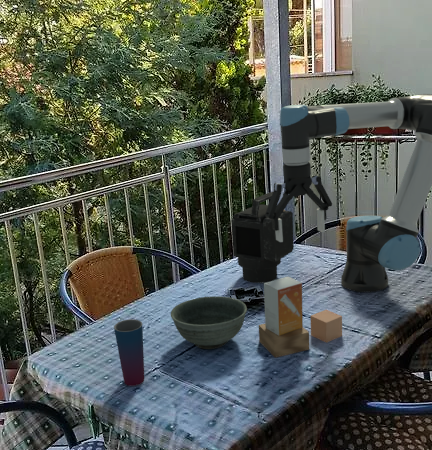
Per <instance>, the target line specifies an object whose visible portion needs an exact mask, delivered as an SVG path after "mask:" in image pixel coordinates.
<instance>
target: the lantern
mask: <svg viewBox="0 0 432 450" xmlns="http://www.w3.org/2000/svg"><path fill="white" fill-rule="evenodd" d="M272 194H273V191H270V192H268V193H265V194H263V195H262V194H261V196H258V197H255V198H254V199H253V200H252V206H251V207H248V208H247V209H244V210H242V211H239V212H237V213H235V214H233V218H232V219H231V222H230V223H231V236H232V237H231V238H232V255H233V257H237V264H238V266H239V267H241V269H242V279H243V281H245V282H248V283H253V284H264V283H267V282H271V281H273V280H277V278H278V266H279V265H280V264H281V263H282V258H285V257H286V256H288V255H289V254H291V253H292V252H293V251H294V248H295V247H294V217H293V216H294V215H293V212H292V211H290V210H285V209H284V211H283V212H282V214H281V216H280V217H279V218H280V219H282V235H283V242H279V241H277V240H276V231H275V230H273V227H272V219H270V218H267V217H266V216H265V214H266V211H267V208H268V205H269V204H261V203H264V202H266V201H268V200H269V201H270V200H271V197H272Z"/></svg>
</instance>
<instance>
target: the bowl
mask: <svg viewBox="0 0 432 450" xmlns="http://www.w3.org/2000/svg"><path fill="white" fill-rule="evenodd" d="M247 311H248V308H247V305H246V304H245V302H244V301H242V300H239V299H237V298H233V297H229V296H220V295H219V296H218V295H217V296H216V295H215V296H202V297H197V298H191V299H188V300H185V301H183V302H180V303H178V304H176V305H175V306H174V307H173V308H172V309H171V311H170V317H171V319H172V322H173V323H174V326H175V328H176V331H177V332H178V333H179V334H180V336H181V337H182V338H183V339H184V340H186V341H187V342H188V343H191V344H194V345H195V346H196V347H197V348H200V349H205V350H212V349H218V348H221V347H224V346H225V345H226V344H227V343H228V342H229V341H230V340H232V339H233V338H234V337H236V336H237V335H238V334H239V333H240V331H241V329H242V328H243V324H244V322H245V317H246V314H247Z"/></svg>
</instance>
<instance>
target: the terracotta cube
mask: <svg viewBox="0 0 432 450" xmlns="http://www.w3.org/2000/svg"><path fill="white" fill-rule="evenodd" d="M310 336H311V337H314V338H316V339H318V340H320V341H322V342H324V343H329V342H331V341H334V340H336V339H338V338H341V337H343V316H342V315H341V314H338V313H335V312H333V311H332V310H331V311H330V310H328V309H324V310H322V311H319V312H317V313H314V314H311V315H310Z"/></svg>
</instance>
